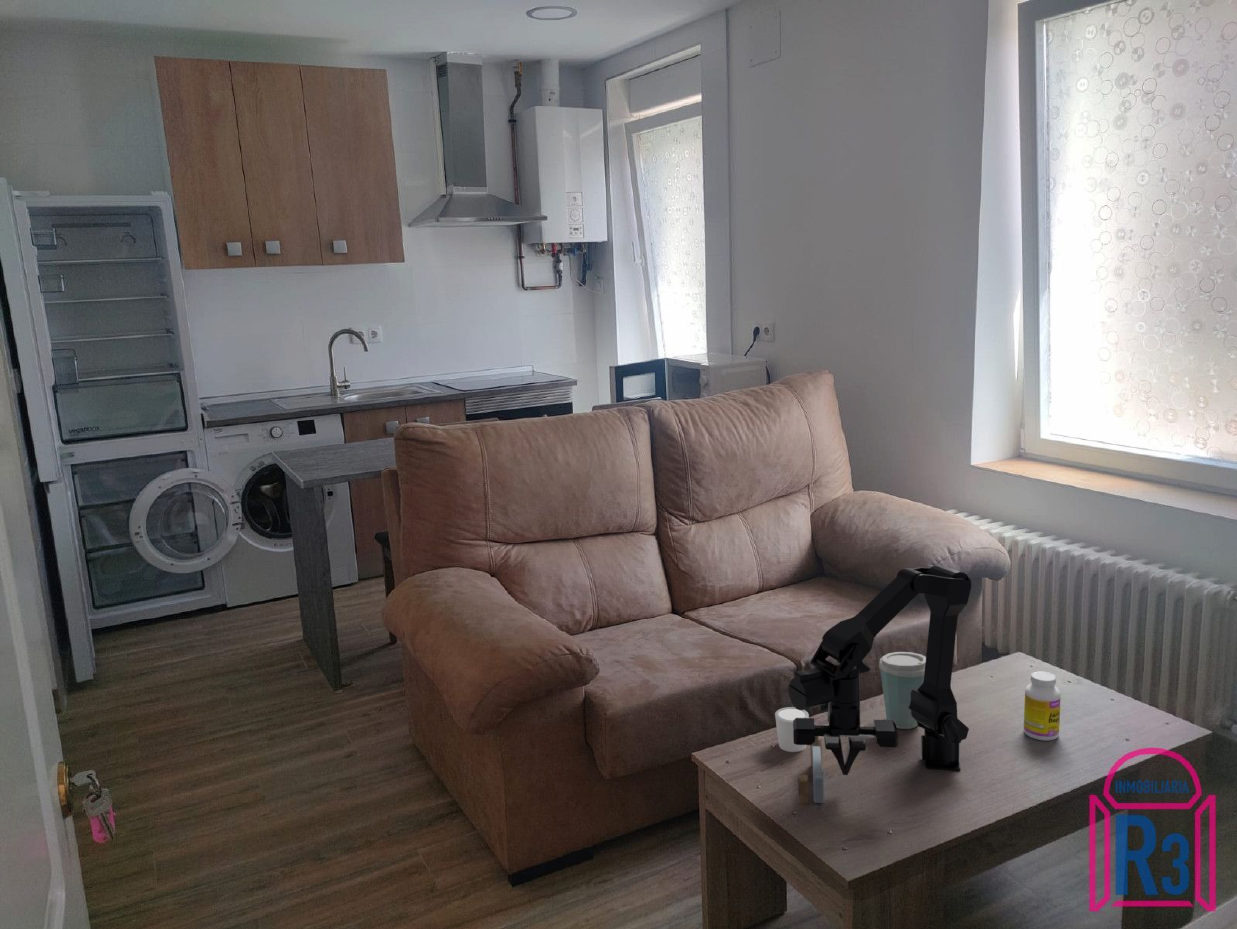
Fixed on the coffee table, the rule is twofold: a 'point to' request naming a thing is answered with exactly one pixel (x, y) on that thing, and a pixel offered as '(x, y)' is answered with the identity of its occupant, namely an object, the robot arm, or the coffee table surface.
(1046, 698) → the supplement bottle
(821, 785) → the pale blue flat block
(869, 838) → the coffee table surface
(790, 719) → the white cup
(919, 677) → the disposable coffee cup
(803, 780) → the brown rectangular block
